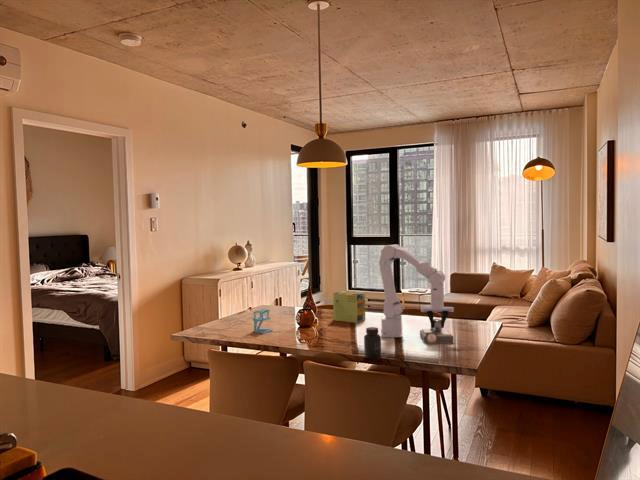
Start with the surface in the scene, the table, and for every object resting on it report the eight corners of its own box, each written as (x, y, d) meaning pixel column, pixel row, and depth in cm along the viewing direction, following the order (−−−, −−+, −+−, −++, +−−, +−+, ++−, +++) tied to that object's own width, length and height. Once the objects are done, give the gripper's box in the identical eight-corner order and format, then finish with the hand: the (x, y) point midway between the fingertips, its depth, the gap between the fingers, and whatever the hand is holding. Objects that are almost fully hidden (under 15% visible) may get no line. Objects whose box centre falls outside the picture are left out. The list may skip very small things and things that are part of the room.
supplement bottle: (379, 355, 203) (379, 326, 202) (382, 359, 196) (382, 329, 195) (363, 355, 202) (363, 326, 202) (365, 360, 196) (365, 330, 195)
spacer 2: (433, 332, 222) (433, 321, 222) (432, 330, 226) (432, 319, 226) (442, 332, 222) (442, 321, 221) (441, 330, 226) (441, 319, 225)
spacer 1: (430, 330, 228) (430, 320, 228) (430, 328, 232) (430, 318, 232) (439, 331, 227) (439, 320, 227) (439, 329, 231) (439, 318, 231)
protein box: (357, 323, 268) (357, 294, 267) (333, 320, 276) (332, 293, 275) (365, 319, 277) (365, 292, 276) (342, 317, 285) (341, 290, 284)
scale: (425, 344, 219) (425, 333, 219) (420, 336, 234) (419, 326, 234) (454, 344, 218) (454, 333, 218) (447, 336, 233) (447, 325, 233)
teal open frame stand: (260, 329, 255) (259, 306, 255) (272, 331, 251) (272, 307, 251) (250, 332, 249) (249, 309, 248) (263, 334, 244) (263, 310, 244)
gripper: (422, 299, 220) (422, 329, 220) (455, 299, 219) (455, 329, 219) (420, 297, 227) (420, 326, 227) (451, 296, 226) (451, 325, 227)
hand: (437, 327), depth 224 cm, fingers closed on spacer 2, 4 cm apart
